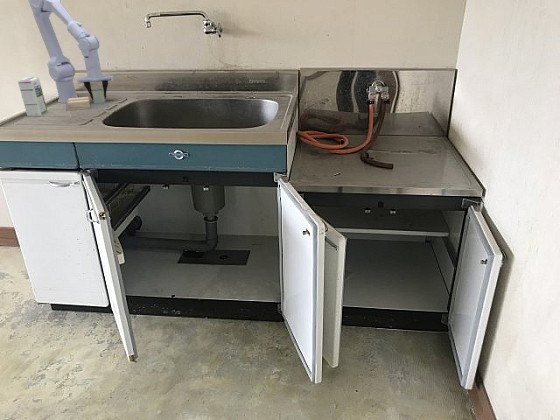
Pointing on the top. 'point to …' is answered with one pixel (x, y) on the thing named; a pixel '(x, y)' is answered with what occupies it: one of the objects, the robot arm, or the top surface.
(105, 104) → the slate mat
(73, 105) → the oak base
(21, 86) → the syrup box
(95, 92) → the sage block
